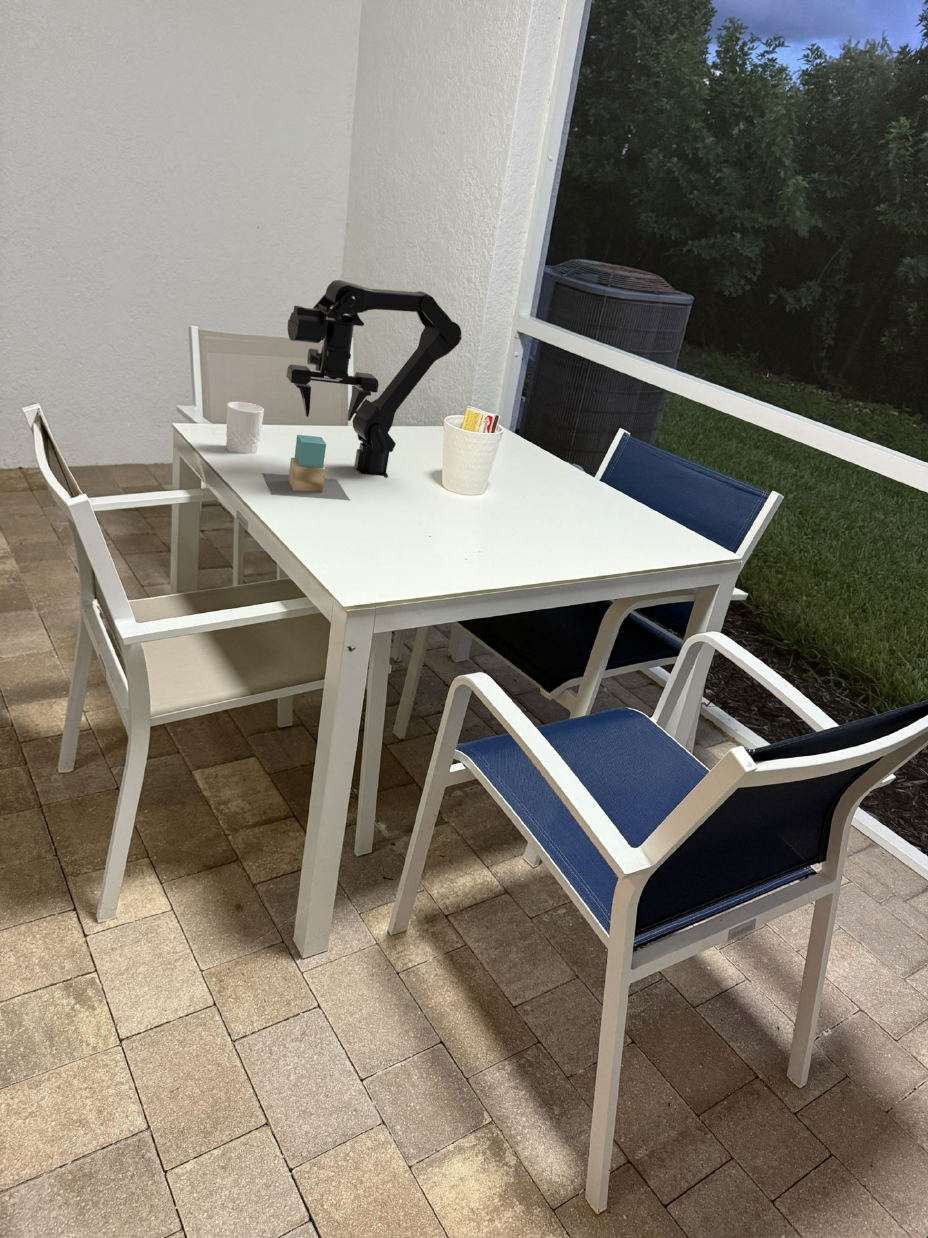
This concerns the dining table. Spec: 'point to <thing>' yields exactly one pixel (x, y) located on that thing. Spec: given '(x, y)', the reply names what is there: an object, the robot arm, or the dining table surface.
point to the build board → (283, 487)
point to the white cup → (243, 427)
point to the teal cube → (310, 451)
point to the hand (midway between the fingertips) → (328, 418)
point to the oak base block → (306, 477)
